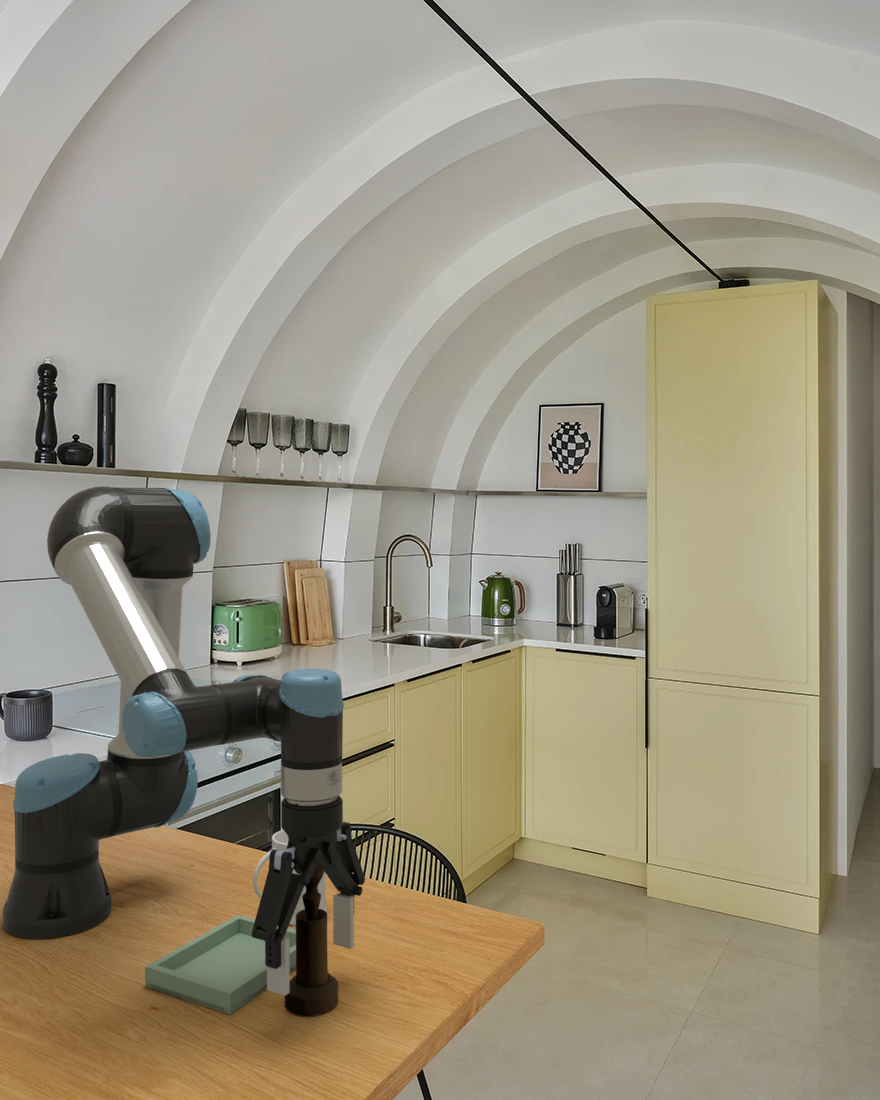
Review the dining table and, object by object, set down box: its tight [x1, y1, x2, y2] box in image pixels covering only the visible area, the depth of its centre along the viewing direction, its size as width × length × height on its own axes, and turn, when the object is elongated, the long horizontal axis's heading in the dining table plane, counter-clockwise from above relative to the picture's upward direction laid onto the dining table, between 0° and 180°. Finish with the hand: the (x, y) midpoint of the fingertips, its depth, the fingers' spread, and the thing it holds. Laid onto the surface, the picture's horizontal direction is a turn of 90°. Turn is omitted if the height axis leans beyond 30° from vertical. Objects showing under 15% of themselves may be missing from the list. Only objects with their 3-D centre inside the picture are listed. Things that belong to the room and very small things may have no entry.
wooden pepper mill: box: [284, 865, 339, 1017], centre depth 116 cm, size 7×6×18 cm
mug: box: [252, 829, 328, 927], centre depth 141 cm, size 12×8×12 cm
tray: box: [144, 914, 296, 1015], centre depth 124 cm, size 14×18×3 cm
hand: (312, 967), depth 116 cm, fingers open, 13 cm apart
